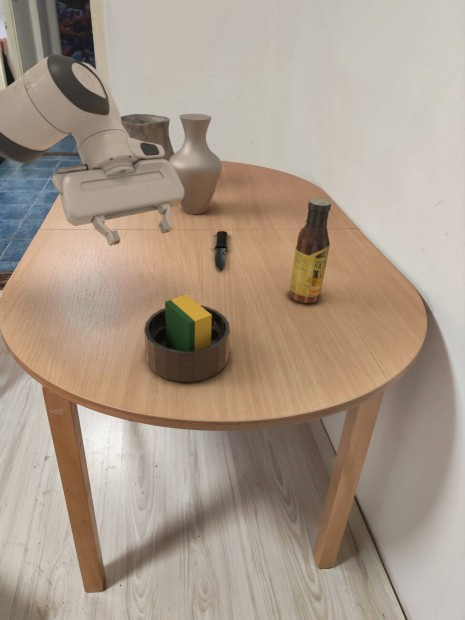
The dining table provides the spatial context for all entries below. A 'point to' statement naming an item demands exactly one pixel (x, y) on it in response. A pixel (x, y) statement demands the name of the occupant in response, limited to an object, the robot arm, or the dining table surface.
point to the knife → (220, 249)
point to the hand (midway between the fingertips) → (142, 237)
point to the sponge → (187, 325)
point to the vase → (196, 164)
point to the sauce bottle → (311, 254)
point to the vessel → (149, 130)
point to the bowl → (186, 362)
